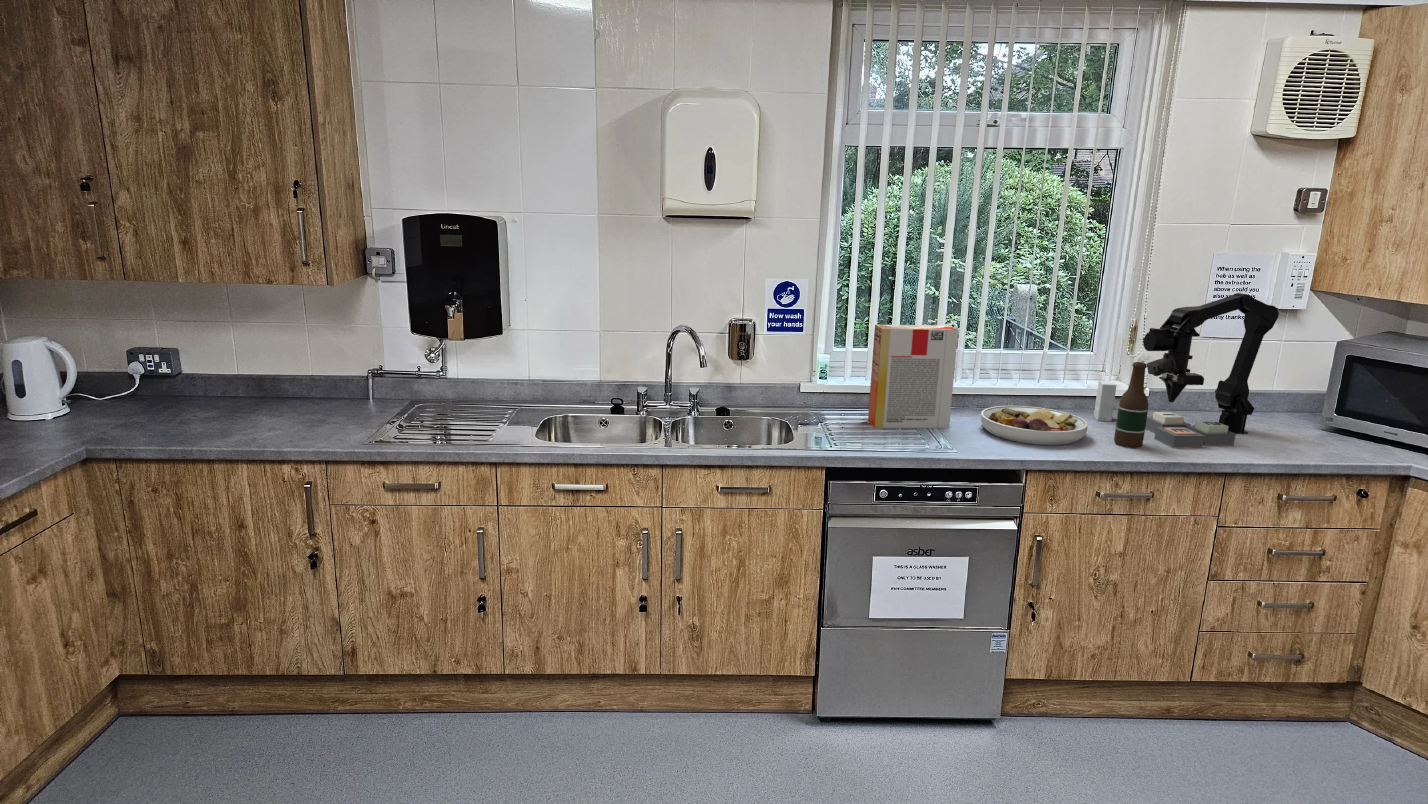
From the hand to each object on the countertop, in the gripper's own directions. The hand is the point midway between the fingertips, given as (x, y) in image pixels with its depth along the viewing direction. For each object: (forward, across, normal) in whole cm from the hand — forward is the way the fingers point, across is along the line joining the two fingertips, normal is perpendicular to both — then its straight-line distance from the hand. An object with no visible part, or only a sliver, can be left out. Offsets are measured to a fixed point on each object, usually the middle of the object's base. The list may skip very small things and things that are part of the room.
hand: (1171, 401), depth 258 cm
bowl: (+10, +1, -43) cm, 44 cm away
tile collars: (+9, +6, +1) cm, 11 cm away
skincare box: (+10, -15, -12) cm, 22 cm away
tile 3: (+8, +12, -4) cm, 15 cm away
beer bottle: (+10, +13, -20) cm, 26 cm away
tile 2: (+7, +10, +7) cm, 14 cm away
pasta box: (+10, -9, -78) cm, 79 cm away
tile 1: (+7, 0, 0) cm, 7 cm away
